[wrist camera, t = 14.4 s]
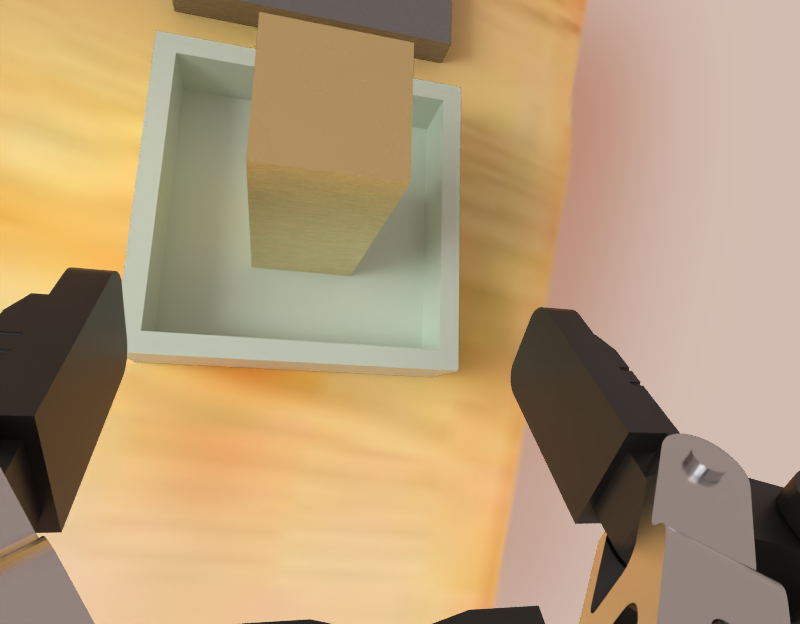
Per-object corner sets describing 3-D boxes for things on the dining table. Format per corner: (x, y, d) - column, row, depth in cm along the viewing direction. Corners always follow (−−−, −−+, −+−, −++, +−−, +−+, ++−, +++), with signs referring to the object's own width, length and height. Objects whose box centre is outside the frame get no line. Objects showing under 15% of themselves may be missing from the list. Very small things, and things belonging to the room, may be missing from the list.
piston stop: (251, 267, 23) (245, 160, 13) (259, 174, 24) (259, 11, 14) (350, 276, 24) (410, 182, 14) (354, 187, 25) (414, 42, 15)
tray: (135, 361, 22) (113, 351, 19) (170, 83, 24) (156, 30, 21) (431, 376, 25) (458, 370, 22) (436, 127, 27) (460, 87, 24)
